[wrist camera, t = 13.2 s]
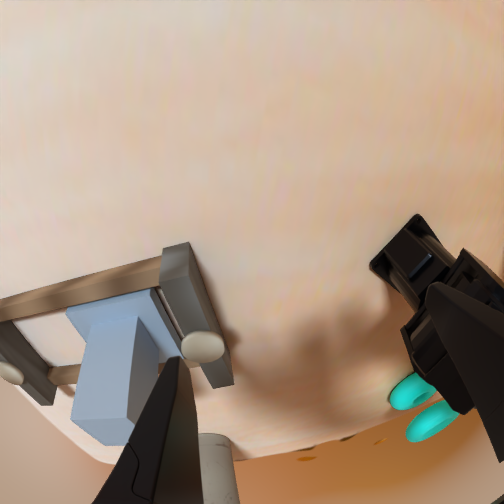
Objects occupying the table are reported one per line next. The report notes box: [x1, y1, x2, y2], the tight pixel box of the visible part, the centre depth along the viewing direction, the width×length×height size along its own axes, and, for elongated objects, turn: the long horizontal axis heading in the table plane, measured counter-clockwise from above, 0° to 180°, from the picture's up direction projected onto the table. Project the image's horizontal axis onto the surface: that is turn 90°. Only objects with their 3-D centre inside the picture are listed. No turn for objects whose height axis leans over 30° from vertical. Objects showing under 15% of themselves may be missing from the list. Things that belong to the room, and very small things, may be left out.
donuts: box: [390, 372, 459, 442], centre depth 39 cm, size 10×10×10 cm
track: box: [0, 242, 234, 406], centre depth 23 cm, size 24×13×5 cm, turn 100°
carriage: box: [65, 287, 184, 446], centre depth 21 cm, size 8×8×10 cm
